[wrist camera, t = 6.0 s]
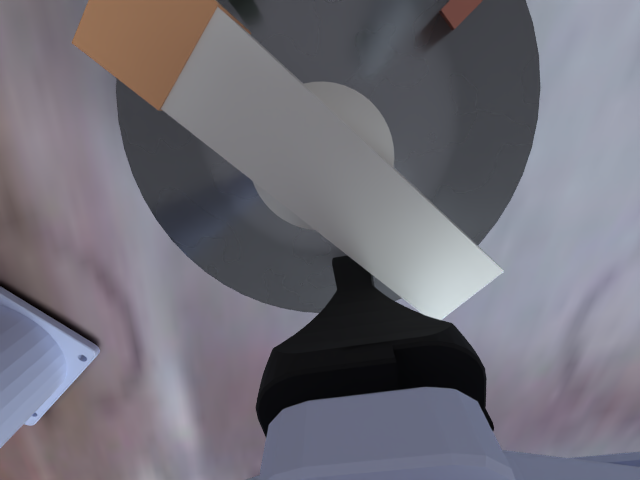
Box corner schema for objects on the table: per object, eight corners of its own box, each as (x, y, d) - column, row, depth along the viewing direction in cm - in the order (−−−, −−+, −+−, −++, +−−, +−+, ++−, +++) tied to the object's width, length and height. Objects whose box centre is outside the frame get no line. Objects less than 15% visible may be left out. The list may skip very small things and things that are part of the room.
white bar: (465, 202, 12) (531, 251, 8) (390, 270, 13) (415, 341, 9) (223, -31, 9) (141, -132, 5) (160, 85, 10) (59, 75, 6)
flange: (324, 341, 17) (323, 365, 15) (74, 143, 13) (39, 149, 11) (588, 143, 12) (625, 148, 11) (324, -270, 8) (322, -358, 7)
